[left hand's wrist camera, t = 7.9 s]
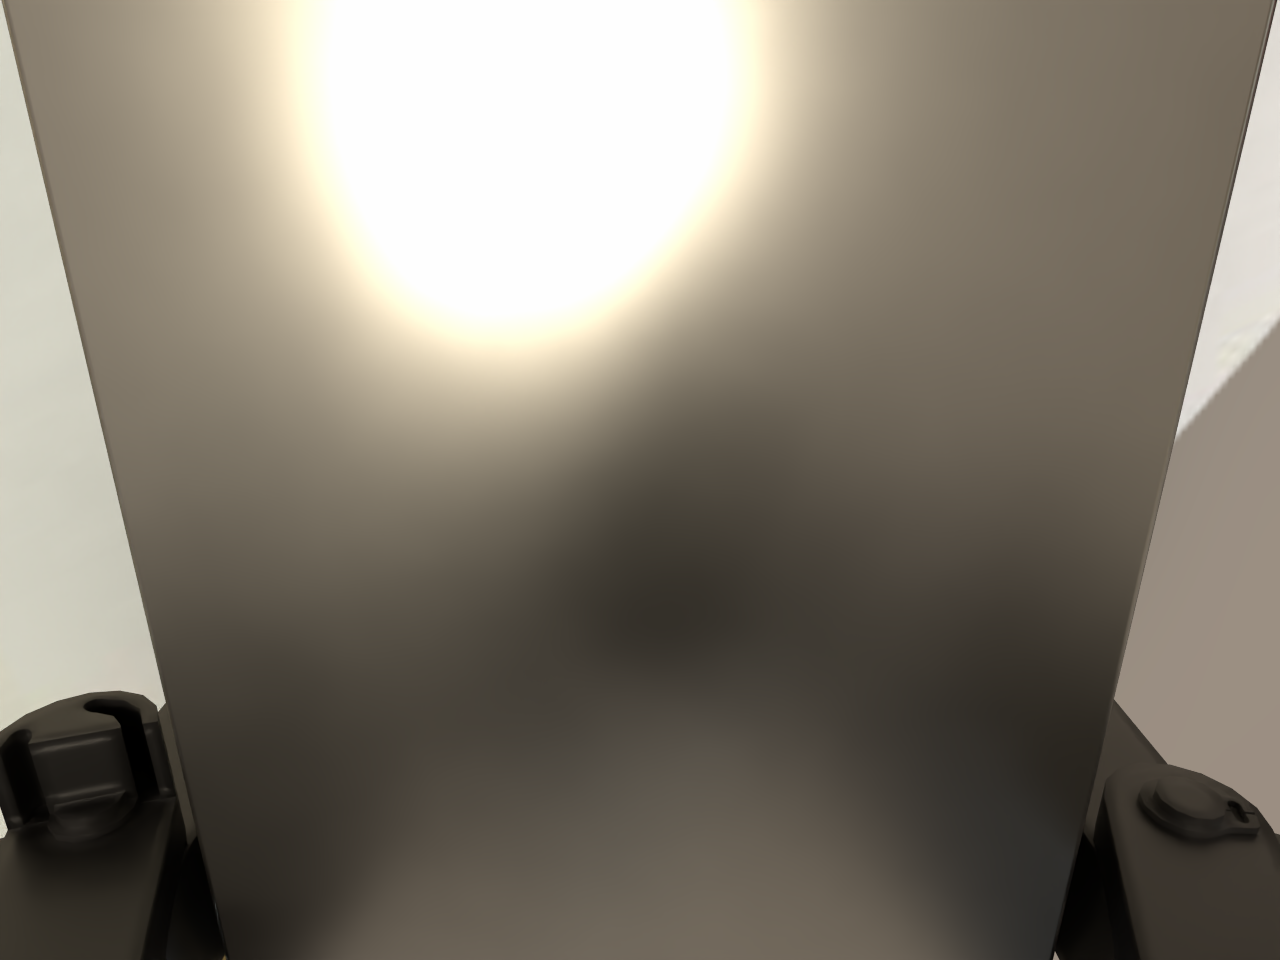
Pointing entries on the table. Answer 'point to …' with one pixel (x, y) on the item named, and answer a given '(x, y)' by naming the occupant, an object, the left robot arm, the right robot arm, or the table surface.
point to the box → (639, 445)
